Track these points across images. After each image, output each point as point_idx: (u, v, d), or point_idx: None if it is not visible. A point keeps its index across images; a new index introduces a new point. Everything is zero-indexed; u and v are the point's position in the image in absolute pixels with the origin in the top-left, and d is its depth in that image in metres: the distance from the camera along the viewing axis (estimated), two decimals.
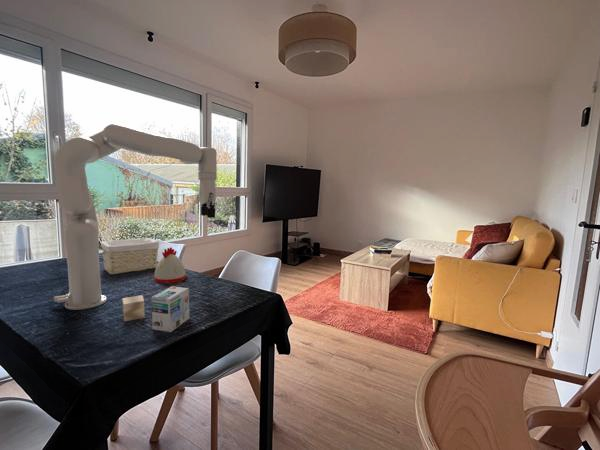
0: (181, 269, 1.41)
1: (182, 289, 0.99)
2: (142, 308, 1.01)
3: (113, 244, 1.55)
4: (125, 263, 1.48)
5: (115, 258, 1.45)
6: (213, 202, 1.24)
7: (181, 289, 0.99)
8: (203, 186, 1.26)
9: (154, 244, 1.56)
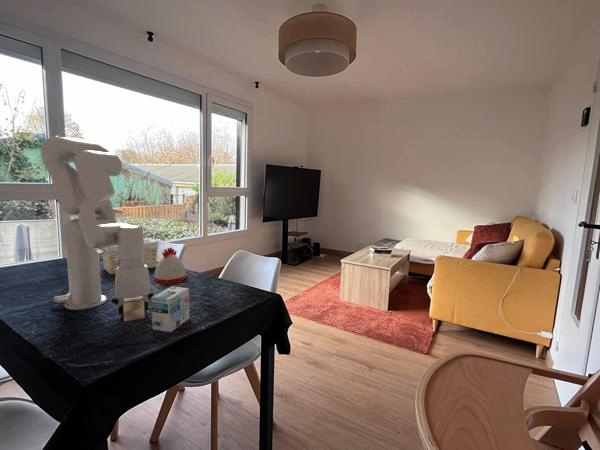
0: (181, 269, 1.41)
1: (182, 289, 0.99)
2: (142, 308, 1.01)
3: None
4: None
5: (115, 258, 1.46)
6: None
7: (181, 289, 0.99)
8: (143, 275, 1.00)
9: (154, 244, 1.57)
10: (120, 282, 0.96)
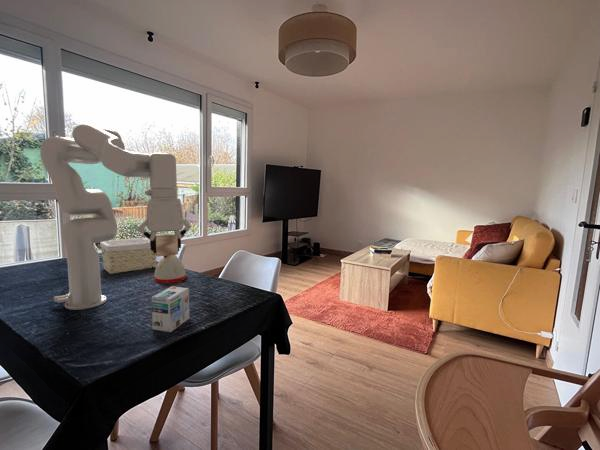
0: (181, 269, 1.41)
1: (182, 289, 0.99)
2: (175, 243, 0.93)
3: (112, 244, 1.56)
4: (125, 262, 1.50)
5: (115, 257, 1.46)
6: None
7: (181, 289, 0.99)
8: (176, 207, 0.93)
9: None
10: (153, 213, 0.89)
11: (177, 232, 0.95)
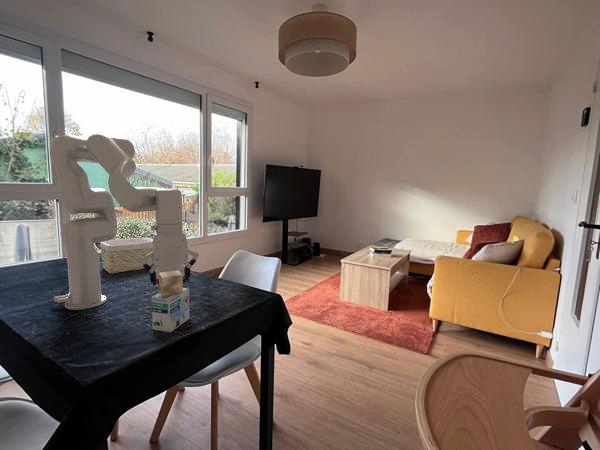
0: (181, 269, 1.41)
1: None
2: (180, 283, 0.95)
3: (112, 243, 1.57)
4: (124, 262, 1.50)
5: (115, 257, 1.47)
6: None
7: None
8: (181, 242, 0.94)
9: None
10: (159, 248, 0.90)
11: (185, 263, 0.96)
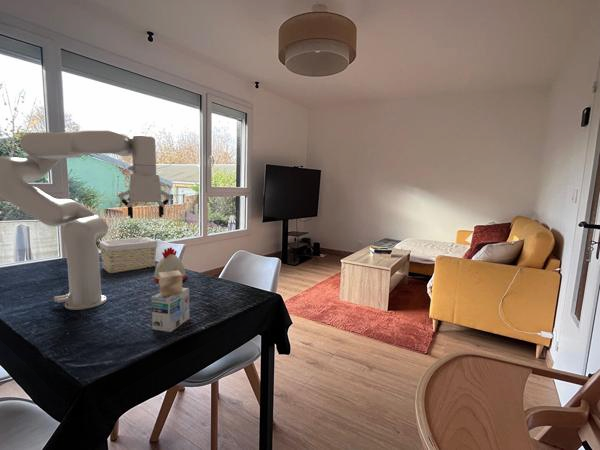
0: (181, 269, 1.41)
1: (182, 289, 0.99)
2: (180, 283, 0.95)
3: (111, 243, 1.57)
4: (124, 262, 1.51)
5: (114, 257, 1.47)
6: None
7: None
8: (155, 182, 1.09)
9: (152, 243, 1.59)
10: (134, 185, 1.06)
11: (159, 202, 1.12)
